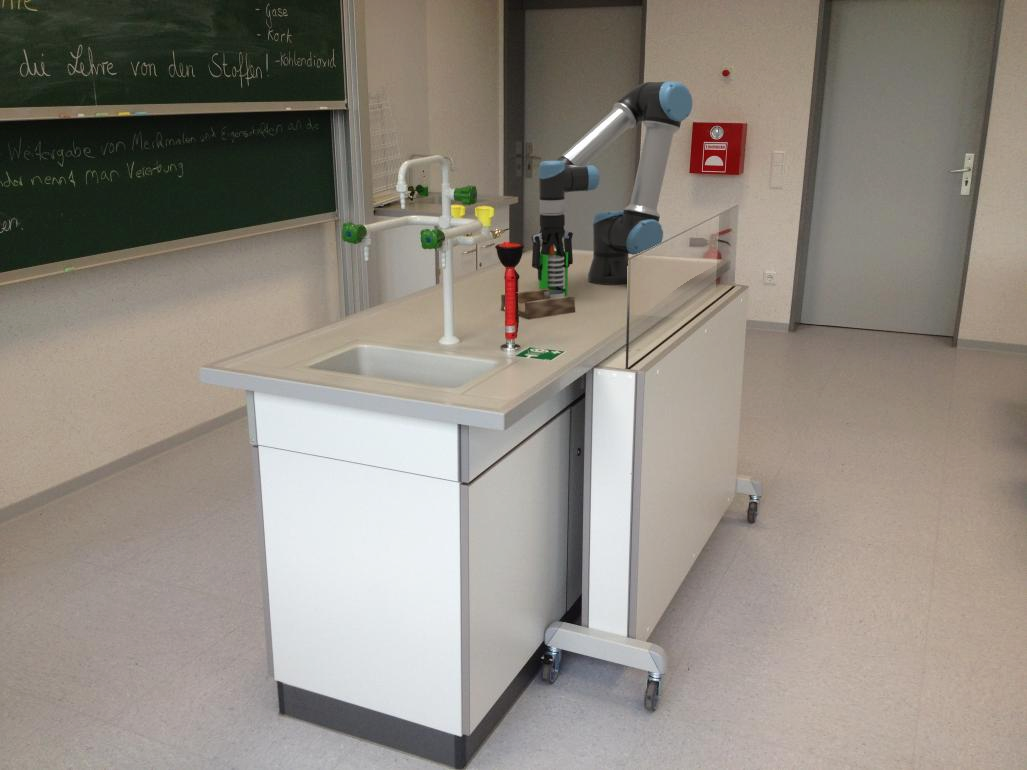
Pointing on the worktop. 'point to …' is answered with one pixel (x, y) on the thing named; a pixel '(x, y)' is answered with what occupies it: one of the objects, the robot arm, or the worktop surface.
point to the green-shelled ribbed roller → (554, 273)
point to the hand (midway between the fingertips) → (552, 289)
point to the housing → (542, 304)
